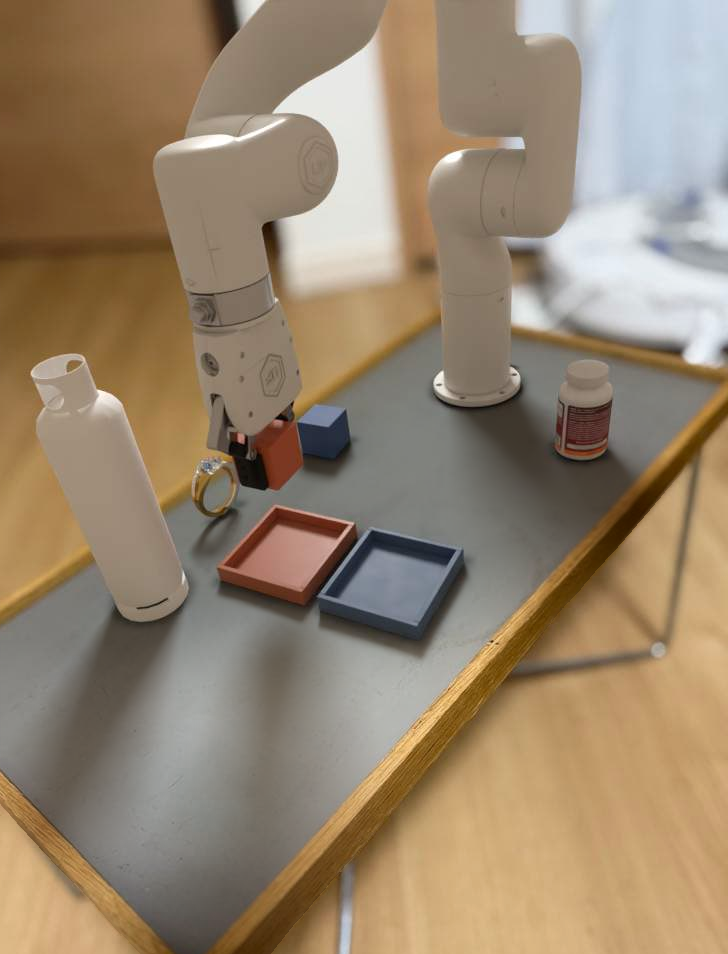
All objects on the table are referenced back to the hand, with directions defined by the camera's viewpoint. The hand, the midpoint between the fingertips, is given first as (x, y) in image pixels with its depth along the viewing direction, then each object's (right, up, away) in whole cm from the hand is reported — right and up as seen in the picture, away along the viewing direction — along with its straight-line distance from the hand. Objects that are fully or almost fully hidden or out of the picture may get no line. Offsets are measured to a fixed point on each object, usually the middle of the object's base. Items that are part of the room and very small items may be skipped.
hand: (270, 469), depth 73 cm
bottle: (-14, -14, +6) cm, 20 cm away
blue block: (+6, +6, +25) cm, 26 cm away
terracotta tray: (+2, -9, +8) cm, 12 cm away
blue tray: (+13, -12, +2) cm, 18 cm away
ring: (-7, -4, +16) cm, 18 cm away
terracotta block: (0, 0, 0) cm, 0 cm away
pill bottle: (+38, +4, +16) cm, 41 cm away
